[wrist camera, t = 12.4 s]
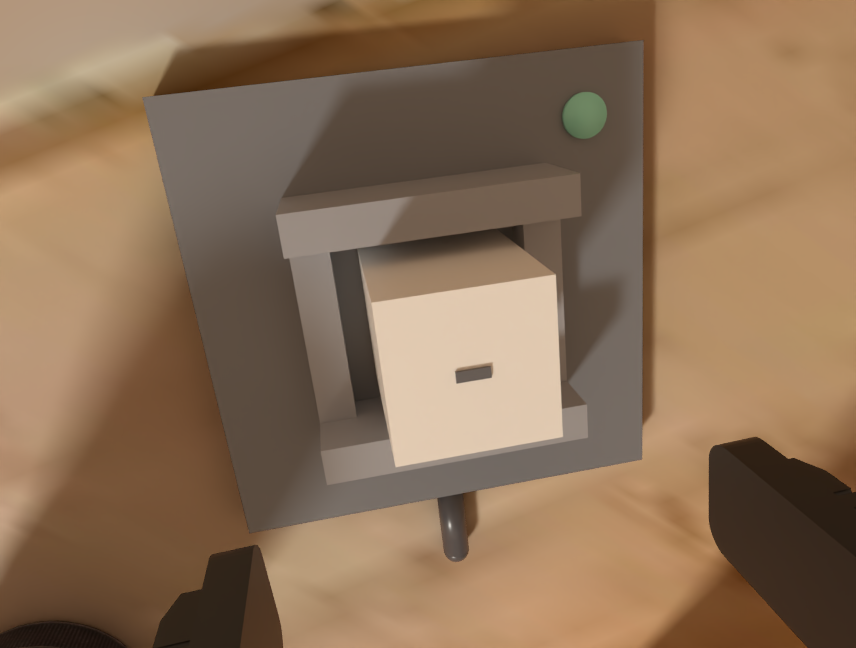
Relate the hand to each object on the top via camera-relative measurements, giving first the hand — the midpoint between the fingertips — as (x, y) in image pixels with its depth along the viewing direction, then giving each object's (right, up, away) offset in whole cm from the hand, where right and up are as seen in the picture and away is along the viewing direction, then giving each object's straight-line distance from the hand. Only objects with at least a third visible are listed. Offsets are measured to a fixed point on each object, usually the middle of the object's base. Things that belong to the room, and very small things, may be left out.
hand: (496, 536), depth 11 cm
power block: (-1, +3, +12) cm, 13 cm away
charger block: (-1, +4, +11) cm, 12 cm away
